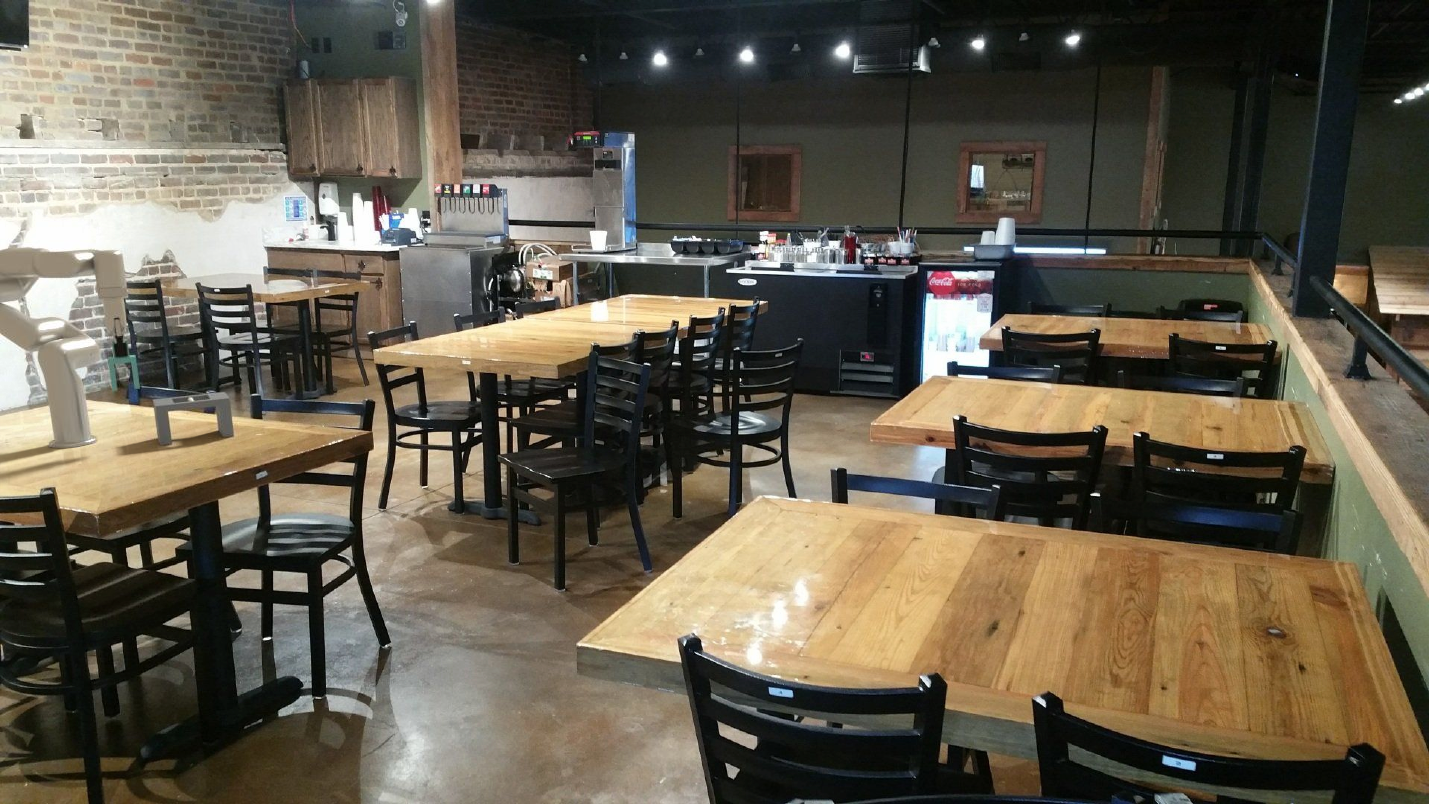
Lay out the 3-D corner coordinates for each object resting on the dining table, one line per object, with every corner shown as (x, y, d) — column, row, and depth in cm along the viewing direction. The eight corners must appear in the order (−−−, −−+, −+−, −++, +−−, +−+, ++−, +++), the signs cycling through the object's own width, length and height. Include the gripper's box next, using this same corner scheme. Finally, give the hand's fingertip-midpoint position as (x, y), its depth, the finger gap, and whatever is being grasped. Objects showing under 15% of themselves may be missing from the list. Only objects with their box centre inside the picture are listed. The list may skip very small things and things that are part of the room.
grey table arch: (157, 437, 315) (152, 399, 313) (228, 429, 325) (224, 391, 323) (160, 445, 305) (155, 406, 303) (234, 436, 315) (229, 398, 313)
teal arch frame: (112, 389, 303) (105, 340, 300) (139, 386, 306) (132, 338, 304) (112, 391, 300) (105, 342, 297) (139, 388, 303) (133, 339, 300)
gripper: (97, 292, 302) (105, 353, 306) (98, 296, 289) (107, 360, 292) (126, 290, 306) (134, 351, 310) (129, 294, 292) (137, 358, 296)
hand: (121, 355), depth 301 cm, fingers closed on teal arch frame, 3 cm apart
